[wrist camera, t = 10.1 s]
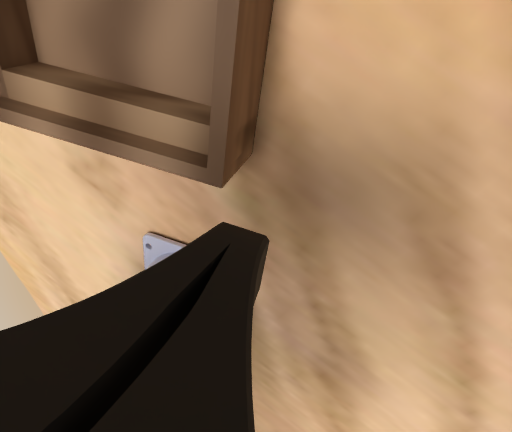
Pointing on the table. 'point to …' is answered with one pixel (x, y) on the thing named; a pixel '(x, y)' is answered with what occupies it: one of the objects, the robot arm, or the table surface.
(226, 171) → the box
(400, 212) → the table surface
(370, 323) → the table surface
